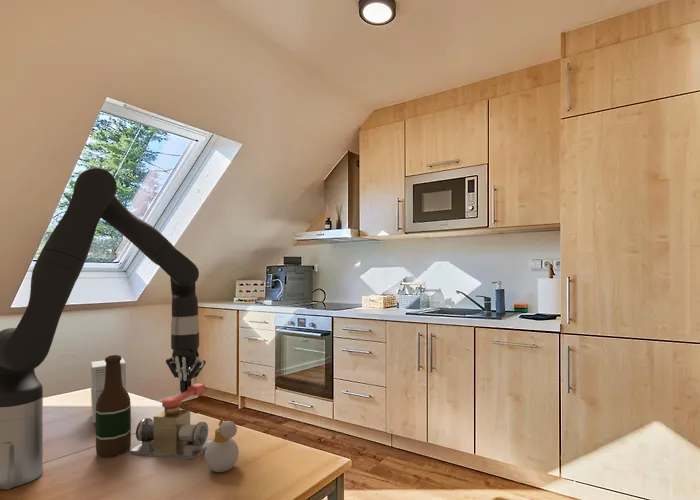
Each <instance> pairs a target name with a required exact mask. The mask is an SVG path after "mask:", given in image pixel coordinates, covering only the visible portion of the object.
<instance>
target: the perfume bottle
mask: <svg viewBox="0 0 700 500" xmlns="http://www.w3.org/2000/svg"><path fill="white" fill-rule="evenodd" d="M214 430H215V431H214V438H213V440H211V441H212V442H210V444H209V445H208V446H207V448H206V451H204V461H205V462H204V463H205V464H206V466H207V468H208V469H210V470H211V471H212V472H216V473H222V472H223V473H225V472H226V471H230V469H232V468H233V467H234V466H235V464H236V463H237V461H238V459H239V454H240V452H239V446H238V444H237V442H236V441H235V440H234V439H233V437H235V436H236V434H237V430H238V427H237V425H236V423H234V422H233V421H231V420H225V421H224V419H223V417H220V419H219V422H218V428H216V429H214Z"/></svg>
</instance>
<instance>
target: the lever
mask: <svg viewBox="0 0 700 500" xmlns="http://www.w3.org/2000/svg"><path fill="white" fill-rule="evenodd" d="M205 389H206V384H205V383H198V382H197V383H194V384H191V386H190V387H188V390H187V391H185V392H183V393H181V392H180V393H179V394H177V395H175V396H174V395H173V396H168V397H164V398H163V399H161V401H162V402H161V405H162V408H164V407H166V408H170V407H176V406H179V405H180V406H181V405H182V403H183V400H186V399H188V398H189V397H191V396H198V395H200V394H201V393H204V392H205V391H206V390H205Z"/></svg>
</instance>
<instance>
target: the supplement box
mask: <svg viewBox="0 0 700 500" xmlns="http://www.w3.org/2000/svg"><path fill="white" fill-rule="evenodd" d="M121 359H122V360H120V364H121V377H122V384H123V387H124V389H125V390H126V391H127V372H126V368H127V367H126V361H125V360H124V357H121ZM105 372H106V362H105V359H104V360H98V361H91V362H90V393H91V394H90V395H91V399H90V400H91V401H90V402H91V421H92V424H96V403H97V400H98V397H99V395H100V394H101V392H102V391H103V390H104V384H105Z"/></svg>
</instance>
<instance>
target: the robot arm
mask: <svg viewBox="0 0 700 500" xmlns="http://www.w3.org/2000/svg"><path fill="white" fill-rule="evenodd" d="M73 185H74V186H73V192H72V195H71V197H70V201H69V203H68V206H67V208H66V210H65V212H64V214H63V216H62V217H61V218H60V220H59V221H58V223H57V225H55V228H54V229H53V230H52V233H51V234H50V235H49V237H48V238H47V241H46V242H45V244H44V246H43V248H42V249H41V251H40V253H39V255H38V258H37V260H36V262H35V263H34V266H33V269H32V272H31V278H30V291H29V292H30V293H29V299H28V304H27V306H26V308H25V311H24V313H23V315H22V317H21V319H20V320H19V322H18V324H17V326H16V327H9V328H5V329H2V330H0V490H6V491H9V490H11V489H12V488H15V487H19V486H21V485H24V484H28V483H30V482H33V481H35V480H36V479H38V478H40V476H41V475H43V473H44V468H43V464H44V463H43V462H44V448H43V447H44V445H43V443H44V441H43V439H44V433H43V431H44V427H43V425H44V424H43V421H44V419H43V418H44V415H43V414H44V412H43V410H44V409H43V408H44V405H43V404H44V403H43V402H44V398H43V397H44V394H43V393H44V391H43V390H44V389H43V387H44V386H43V384H42V383H41V382H40V380H39V379H38V377H37V374H36V371H35V370H36V368H38V367H39V366H40V365H41V364H42V363H43V362H44V361H45V359H46V358H47V357H48V355H49V352H50V349H51V347H52V345H53V341H54V337H55V334H56V331H57V328H58V324H59V322H60V320H61V316H62V313H63V312H64V309H65V307H66V305H67V302H68V301H69V298H70V296H71V293H72V291H73V289H74V287H75V284H76V283H77V280H78V278H79V277H80V274H81V273H82V270H83V267H84V265H85V263H86V260H87V258H88V256H89V255H88V254H89V253H90V252H89V251H90V249H91V246H92V244H93V240H94V237H95V233H96V230H97V227H98V226H99V222H100V220H101V219H102V221H104V222H106V223H107V224H108V225H110V226H111V227H113V229H115V230H116V231H118V232H119V233H120V234H121V235H122V236H124V237H125V238H126V239H127V240H128V241H130V243H132V244H133V245H134V246H135V247H136V248H137V249H138V250H139V251H140V253H142V254H143V255H145V257H147V258H148V259H149V260H150V261H151V262H153V264H155V265H157V266H158V267H160V268H161V269H162V271H164V272H165V273H166V274H167V276H169V278H170V280H169V281H170V289H171V321H170V348H171V350H172V354H171V357H170V358H168V359H166V360H165V363H166V365H167V366H168V368H169V371H170V372H171V374H172V375H173V377H174V378H178V380H179V391H180V394H181V393H183V392H185V391H187V390H188V387H190V386H192V379H195V378H197V377H198V376H199V375H200V374H201V371H202V370H203V368H204V366H206V362H207V361H206V360H204V359H203V360H202V359H201V358H200V353H199V350H198V349H199V347H200V320H199V299H198V297H197V294H196V282H197V281H198V279H199V277H200V272H199V268H198V266H197V265H196V264H195V263H194V262H193V261H192V260H191V259H190V258H188V256H186V255H185V254H183V253H182V252H181V251H180V250H178V249H177V248H176V247H175V246H174V245H173V244H172V243H171V241H169V240H168V239H167V238H166V237H165V236H164V235H163V234H162V233H161V232H160V231H159V230H158V229H156V228H155V227H154V226H152V225H151V224H150V223H148V222H146V221H144V220H143V219H142V218H140V217H138V216H136V215H135V214H134V213H132V212H131V211H130V210H129V209H127V208H126V207H125V205H123V204H122V203H121V201H120V200H119V199H118V198H117V196H116V194H117V192H118V187H117V181H116V178H115V177H114V175H113V174H112V173H111V172H110V171H109V170H107V169H105V168H102V167H91V168H88V169H86V170H84V171H82V172H80V174H79V175H78V176H77V178H76V180H75V183H74V184H73Z"/></svg>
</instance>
